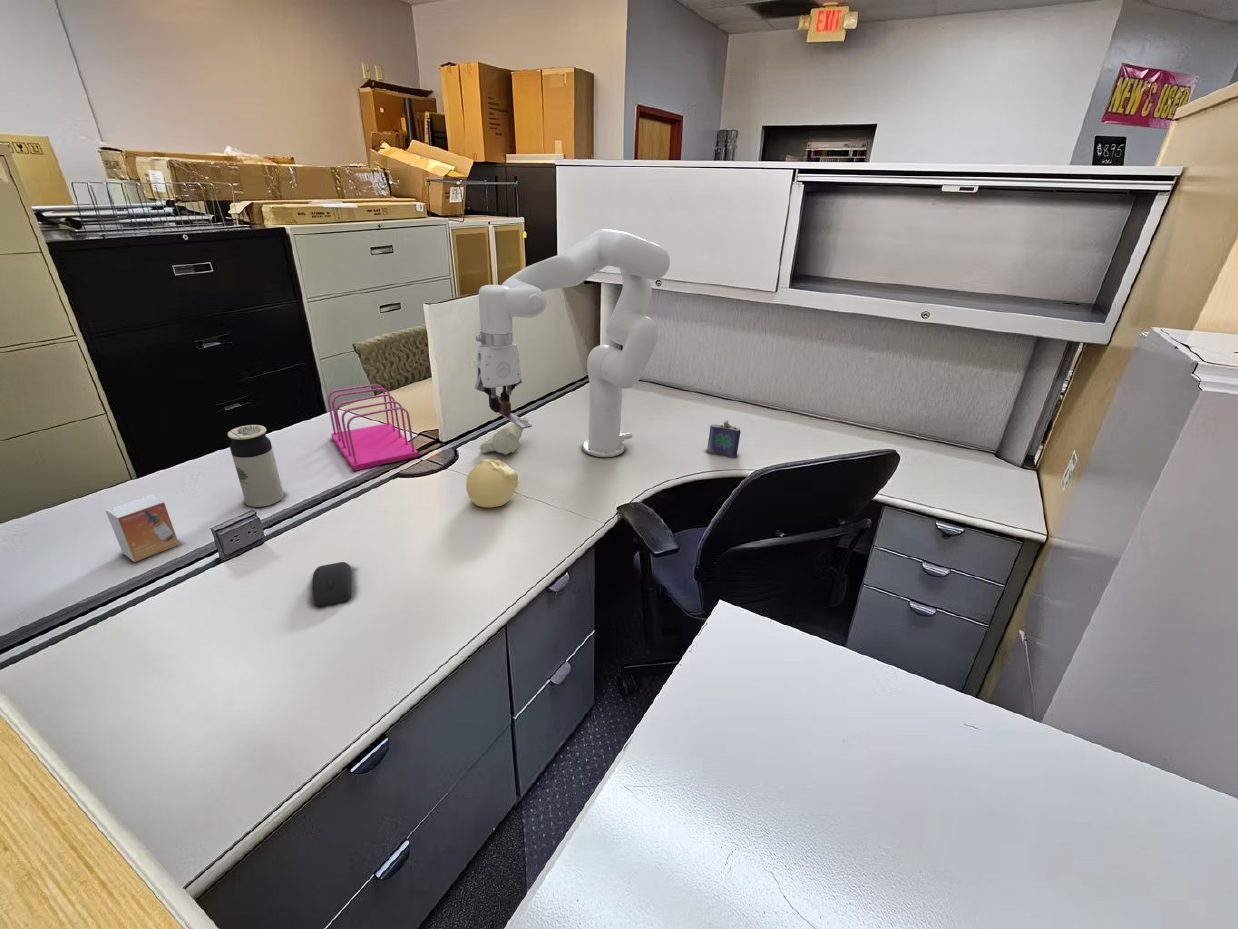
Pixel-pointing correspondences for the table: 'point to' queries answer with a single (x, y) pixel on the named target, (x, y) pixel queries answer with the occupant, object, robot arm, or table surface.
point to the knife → (506, 412)
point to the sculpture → (491, 483)
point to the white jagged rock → (504, 440)
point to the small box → (142, 527)
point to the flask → (723, 439)
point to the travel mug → (255, 465)
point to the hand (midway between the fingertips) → (499, 409)
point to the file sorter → (371, 434)
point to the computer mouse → (332, 584)
